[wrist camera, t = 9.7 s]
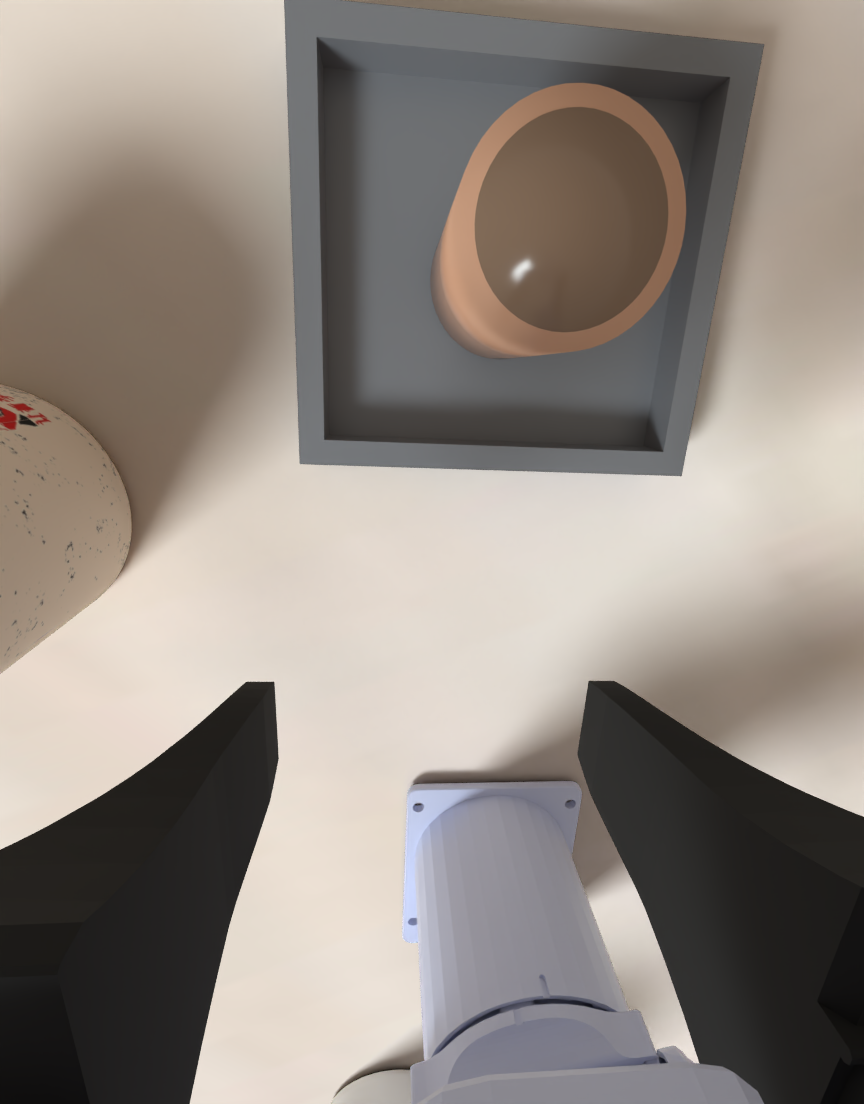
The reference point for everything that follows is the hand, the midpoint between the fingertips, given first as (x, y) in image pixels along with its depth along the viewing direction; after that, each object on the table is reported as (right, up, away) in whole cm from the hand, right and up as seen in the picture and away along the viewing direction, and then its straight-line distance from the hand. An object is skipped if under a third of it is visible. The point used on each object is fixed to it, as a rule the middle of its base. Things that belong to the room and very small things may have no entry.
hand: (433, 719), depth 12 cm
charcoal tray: (+2, +13, +6) cm, 14 cm away
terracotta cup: (+2, +13, +5) cm, 14 cm away
